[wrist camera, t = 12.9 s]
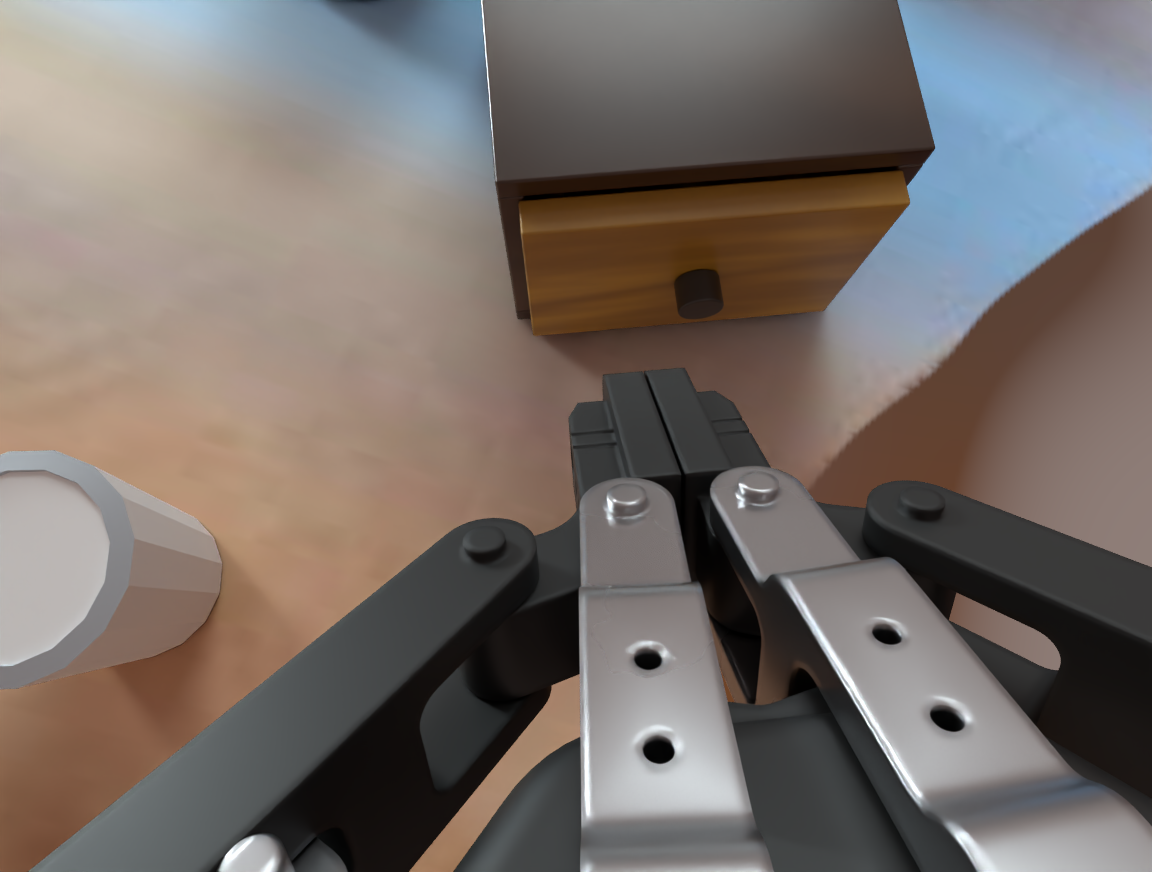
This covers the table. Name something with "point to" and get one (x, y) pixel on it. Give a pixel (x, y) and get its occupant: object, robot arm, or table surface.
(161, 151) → the table surface
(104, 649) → the white faceted cylinder
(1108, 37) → the table surface
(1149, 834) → the robot arm
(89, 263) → the table surface
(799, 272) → the wooden drawer
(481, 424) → the table surface
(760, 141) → the cabinet
